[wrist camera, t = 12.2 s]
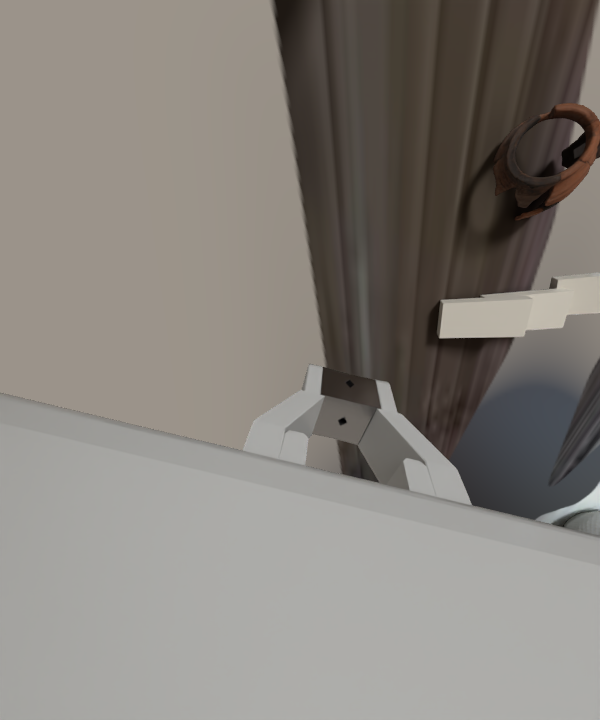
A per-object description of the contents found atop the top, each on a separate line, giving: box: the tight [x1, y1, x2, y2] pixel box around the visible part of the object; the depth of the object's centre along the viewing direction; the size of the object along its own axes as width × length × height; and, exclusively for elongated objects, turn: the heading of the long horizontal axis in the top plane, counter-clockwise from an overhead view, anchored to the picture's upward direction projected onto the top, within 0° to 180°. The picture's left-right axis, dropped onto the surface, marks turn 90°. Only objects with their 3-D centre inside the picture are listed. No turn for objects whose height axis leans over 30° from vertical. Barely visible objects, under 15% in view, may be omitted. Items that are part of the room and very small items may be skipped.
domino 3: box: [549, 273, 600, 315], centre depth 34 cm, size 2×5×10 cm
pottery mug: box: [493, 103, 600, 220], centre depth 28 cm, size 12×10×8 cm
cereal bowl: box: [564, 511, 600, 536], centre depth 58 cm, size 17×17×7 cm
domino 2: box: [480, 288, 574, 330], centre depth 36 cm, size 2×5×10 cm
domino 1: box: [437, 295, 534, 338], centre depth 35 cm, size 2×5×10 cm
